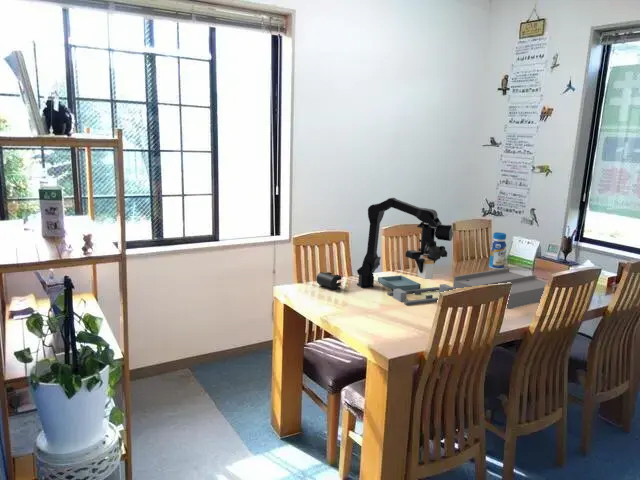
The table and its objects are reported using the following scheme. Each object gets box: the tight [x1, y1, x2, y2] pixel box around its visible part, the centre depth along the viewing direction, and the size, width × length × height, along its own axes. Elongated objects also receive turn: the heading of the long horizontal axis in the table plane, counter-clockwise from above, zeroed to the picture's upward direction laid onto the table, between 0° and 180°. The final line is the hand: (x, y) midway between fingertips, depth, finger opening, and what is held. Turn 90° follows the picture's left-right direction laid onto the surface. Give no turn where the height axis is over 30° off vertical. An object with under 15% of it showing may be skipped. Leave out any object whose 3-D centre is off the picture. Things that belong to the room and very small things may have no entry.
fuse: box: [416, 257, 435, 280], centre depth 223 cm, size 4×6×8 cm, turn 24°
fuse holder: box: [386, 283, 454, 306], centre depth 225 cm, size 28×16×4 cm, turn 114°
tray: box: [377, 274, 421, 291], centre depth 242 cm, size 14×17×2 cm
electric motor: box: [316, 271, 342, 291], centre depth 234 cm, size 10×7×7 cm
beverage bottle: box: [488, 232, 507, 270], centre depth 284 cm, size 8×8×20 cm
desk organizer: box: [452, 267, 548, 310], centre depth 236 cm, size 32×40×7 cm
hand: (425, 272), depth 223 cm, fingers closed on fuse, 4 cm apart
